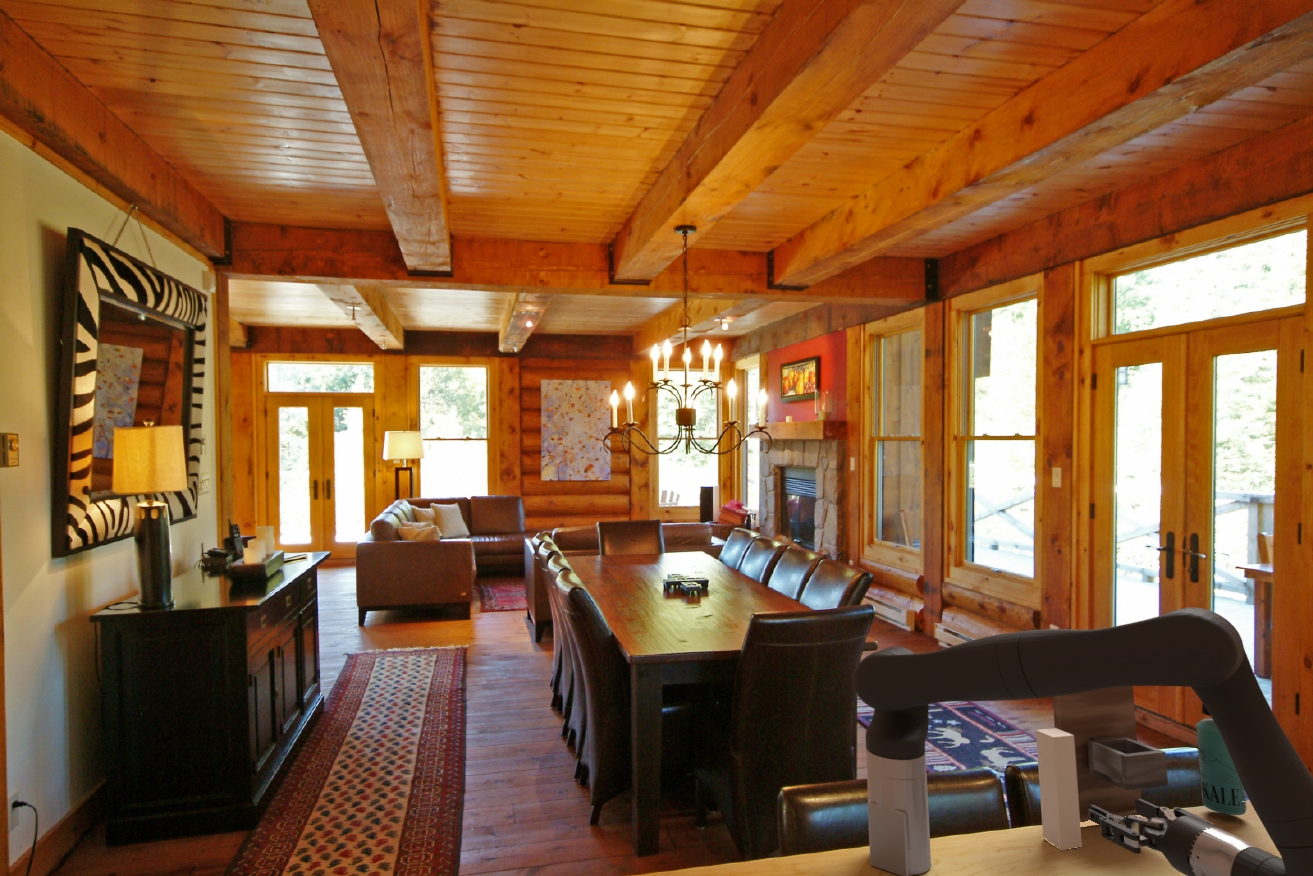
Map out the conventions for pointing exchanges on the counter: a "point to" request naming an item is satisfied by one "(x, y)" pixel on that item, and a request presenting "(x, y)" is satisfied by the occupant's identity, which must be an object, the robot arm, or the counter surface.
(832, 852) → the counter surface
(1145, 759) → the cup bracket
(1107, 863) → the counter surface
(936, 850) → the counter surface
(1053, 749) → the beige tall block
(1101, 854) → the counter surface
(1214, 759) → the beverage bottle
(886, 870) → the robot arm
